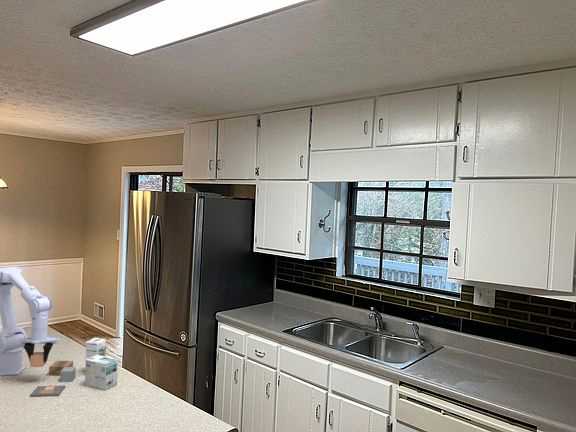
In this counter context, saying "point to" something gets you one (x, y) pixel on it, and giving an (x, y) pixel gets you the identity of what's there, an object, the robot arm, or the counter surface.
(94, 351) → the syrup box
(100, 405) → the counter surface
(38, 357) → the terracotta block
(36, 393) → the card
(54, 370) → the walnut block
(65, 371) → the slate-grey block
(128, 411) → the counter surface
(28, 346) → the robot arm
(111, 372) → the light bulb box
